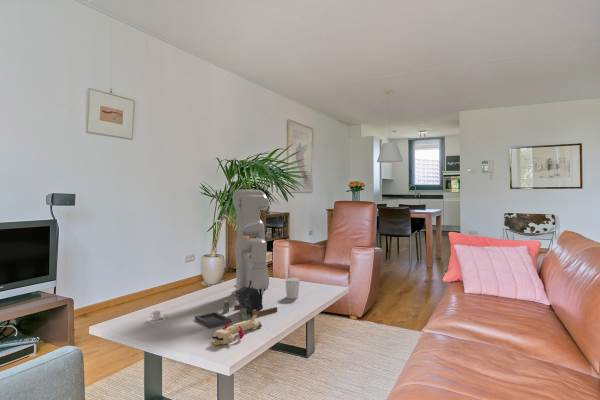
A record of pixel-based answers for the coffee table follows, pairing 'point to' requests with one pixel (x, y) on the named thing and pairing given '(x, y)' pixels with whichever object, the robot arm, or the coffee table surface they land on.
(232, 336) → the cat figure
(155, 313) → the teacup and saucer
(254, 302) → the small box
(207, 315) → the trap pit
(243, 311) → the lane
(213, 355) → the coffee table surface
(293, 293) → the white cup
